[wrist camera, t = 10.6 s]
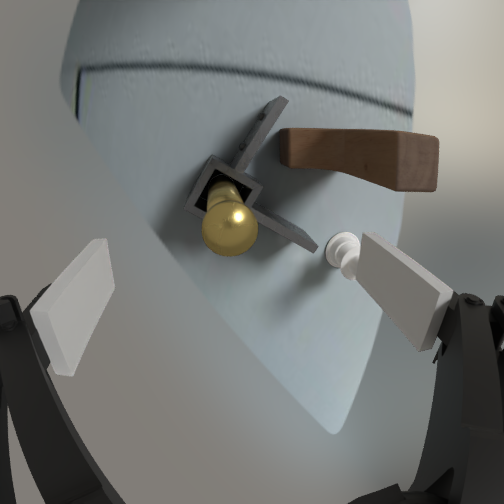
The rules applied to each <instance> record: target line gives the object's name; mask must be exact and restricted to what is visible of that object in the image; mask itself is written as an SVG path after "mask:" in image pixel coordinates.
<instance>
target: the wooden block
mask: <svg viewBox="0 0 504 504" xmlns="http://www.w3.org/2000/svg"><path fill="white" fill-rule="evenodd" d="M279 137H280V163H281V164H282V165H284V166H286V167H289V168H298V169H324V170H333V171H338V172H343V173H346V174H349V175H352V176H355V177H358V178H361V179H364V180H366V181H369V182H372V183H375V184H378V185H380V186H383V187H386V188H388V189H391V190H393V191H400V192H434V191H436V188H437V177H438V162H439V140H438V138H436V137H435V136H430V135H424V134H417V133H411V132H404V131H394V130H372V129H323V128H284V129H280V132H279Z"/></svg>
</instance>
